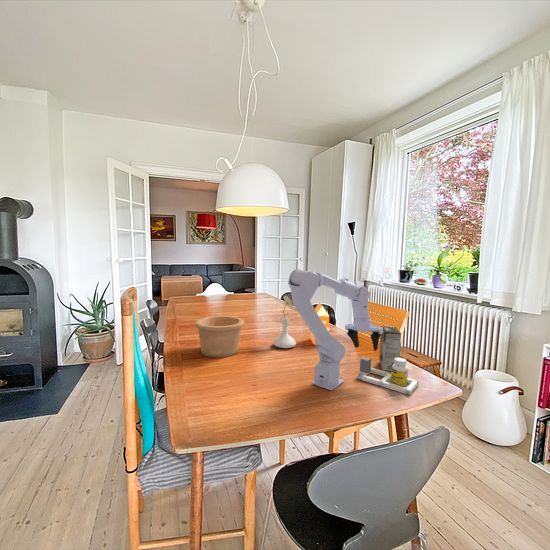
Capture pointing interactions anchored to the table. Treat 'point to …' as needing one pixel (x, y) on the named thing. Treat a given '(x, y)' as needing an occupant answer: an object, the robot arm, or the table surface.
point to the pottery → (219, 335)
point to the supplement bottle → (399, 372)
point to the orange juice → (323, 316)
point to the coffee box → (389, 347)
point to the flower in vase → (285, 330)
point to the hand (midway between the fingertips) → (366, 348)
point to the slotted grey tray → (384, 382)
